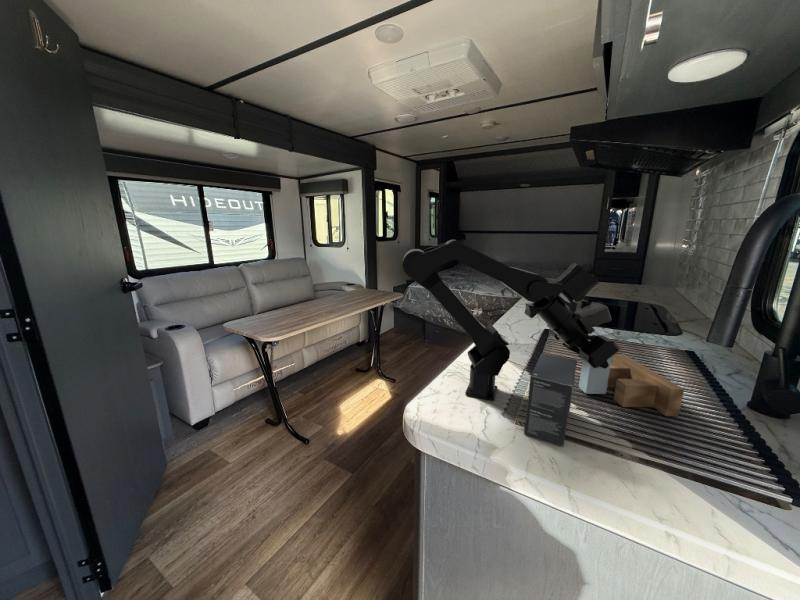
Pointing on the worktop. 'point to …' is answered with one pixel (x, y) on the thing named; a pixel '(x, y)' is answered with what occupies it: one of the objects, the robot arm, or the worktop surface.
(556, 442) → the small box
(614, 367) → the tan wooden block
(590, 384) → the post
